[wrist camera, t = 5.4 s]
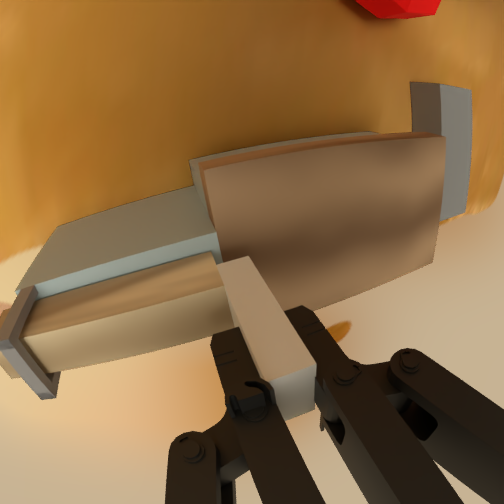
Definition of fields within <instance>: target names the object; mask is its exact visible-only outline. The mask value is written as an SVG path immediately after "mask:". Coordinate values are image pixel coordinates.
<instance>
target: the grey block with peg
mask: <svg viewBox="0 0 504 504" xmlns="http://www.w3.org/2000/svg"><path fill="white" fill-rule="evenodd" d="M210 251H211V253H212V255H213V258H214V260H215V263H216V265H217V264H221V263H223V260H222V256H221V251H220V246H219V242H218V237H217V232H216V230H215V228H214V226H213V224H212V222H211V220H210V218H209V216H208V214H207V212H206V209H205V207H204V205H203V203H202V201H201V199H200V197H199V195H198V193H197V191H196V188H195V186H190V187H186V188H182V189H178V190H174V191H171V192H167V193H163V194H160V195H156V196H152V197H149V198H145V199H142V200H138V201H135V202H132V203H128V204H125V205H122V206H118V207H115V208H112V209H109V210H106V211H102V212H99V213H96V214H93V215H90V216H87V217H84V218H81V219H78V220H75V221H73V222H70V223H67V224H64V225H61V226H58V227H57V228H56V229H55V231H54V232H53V233H52V235H51V236H50V238H49V239H48V240H47V242H46V243H45V245H44V246H43V248H42V249H41V251H40V252H39V254H38V255H37V257H36V258H35V260H34V261H33V263H32V264H31V266H30V267H29V269H28V270H27V272H26V274H25V275H24V277H23V279H22V280H21V282H20V283H19V285H18V287H17V289H16V290H15V292H16V294H17V297H16V299H15V301H14V303H13V305H12V307H11V309H10V311H9V313H8V315H7V317H6V319H5V321H4V323H3V325H2V327H1V329H0V351H1V352H2V354H3V355H4V356H5V358H6V359H7V360H8V362H9V363H10V364H11V365H12V367H13V368H14V369H15V370H16V371H17V373H18V374H19V375H20V376H21V377H22V379H23V380H24V381H25V382H26V383H27V384H28V385H29V387H30V388H31V389H32V390H33V391H34V392H35V393H36V394H37V395H38V396H39V397H40V399H41V400H44V399H53V398H56V395H57V390H58V384H59V378H60V373H61V371H58V372H53V373H47V374H45V373H44V372H43V371H42V370H41V368H40V367H39V366H38V365H37V363H36V362H35V361H34V360H33V358H32V357H31V356H30V354H29V353H28V352H27V350H26V349H25V347H24V346H23V345H22V343H21V342H20V340H19V339H18V338H19V335H20V333H21V331H22V328H23V326H24V323H25V321H26V319H27V316H28V314H29V312H30V310H31V308H32V305H33V303H34V301H37V300H40V299H44V298H47V297H50V296H54V295H57V294H61V293H64V292H68V291H71V290H74V289H78V288H81V287H85V286H88V285H92V284H95V283H99V282H102V281H106V280H109V279H113V278H116V277H120V276H123V275H127V274H131V273H134V272H138V271H141V270H145V269H148V268H152V267H156V266H159V265H163V264H166V263H170V262H174V261H177V260H181V259H184V258H188V257H192V256H195V255H199V254H203V253H206V252H210Z"/></svg>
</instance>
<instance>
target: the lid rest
mask: <svg viewBox="0 0 504 504" xmlns="http://www.w3.org/2000/svg"><path fill="white" fill-rule="evenodd" d="M410 88H411V103H412V131H413V132H429V133H433V134H437V135H441V136H445V137H446V156H445V174H444V186H443V197H442V206H441V214H440V221H442V220H445V219H448V218H451V217H454V216H456V215H459V214H462V213H465V209H466V203H467V195H468V187H469V177H470V166H471V150H472V93H471V90H469V89H464V88H459V87H454V86H449V85H444V84H436V83H422V82H410Z"/></svg>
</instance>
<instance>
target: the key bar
mask: <svg viewBox="0 0 504 504" xmlns="http://www.w3.org/2000/svg"><path fill="white" fill-rule="evenodd" d="M10 309H11V308H10ZM10 309H6V310H3V312H2V314H1V316H0V329H1V327H2V325H3V323H4V321H5V319H6V317H7V315H8V313H9V311H10ZM232 328H235V326H234V323H233V319H232V315H231V311H230V307H229V303H228V299H227V295H226V291H225V286H224V284H223V281H222V279H221V276H220V274H219V271H218V269H217V266H216V263H215V260H214V258H213V255H212V253H211V251H210V252H206V253H203V254H199V255H195V256H192V257H188V258H184V259H181V260H177V261H174V262H170V263H166V264H163V265H159V266H156V267H152V268H148V269H145V270H141V271H138V272H134V273H131V274H127V275H123V276H120V277H116V278H113V279H109V280H106V281H102V282H99V283H95V284H92V285H88V286H85V287H81V288H78V289H74V290H71V291H68V292H64V293H61V294H57V295H54V296H50V297H47V298H44V299H40V300H37V301H34V303H33V305H32V308H31V310H30V312H29V314H28V316H27V319H26V321H25V323H24V326H23V328H22V331H21V333H20V335H19V338H18V339H19V340H20V342H21V343H22V345H23V346H24V347H25V349H26V350H27V352H28V353H29V354H30V356H31V357H32V358H33V360H34V361H35V362H36V363H37V365H38V366H39V367H40V368H41V370H42V371H43V372H44V373H45V374H47V373H53V372H58V371H64V370H69V369H74V368H80V367H85V366H90V365H95V364H100V363H105V362H110V361H114V360H119V359H123V358H128V357H131V356H136V355H140V354H145V353H149V352H153V351H157V350H161V349H165V348H169V347H173V346H176V345H180V344H184V343H187V342H192V341H195V340H199V339H202V338H205V337H210V336H213V334H215V333H219V332H222V331H226V330H229V329H232ZM0 365H1V367H2V368H3V369H4V370H5V371H6V373H7V374H8V375H9V376H10V377H11V379H12V378H20V377H21V376H20V375H19V374H18V373H17V371H16V370H15V369H14V368H13V367H12V365H11V364H10V363H9V362H8V360H7V359H6V358H5V356H4V355H3V354H2V352H1V351H0Z"/></svg>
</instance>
